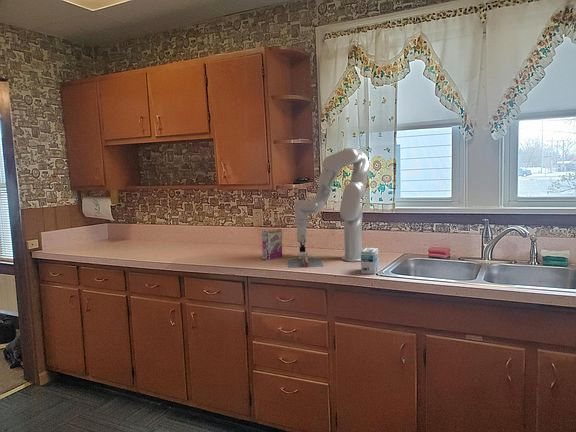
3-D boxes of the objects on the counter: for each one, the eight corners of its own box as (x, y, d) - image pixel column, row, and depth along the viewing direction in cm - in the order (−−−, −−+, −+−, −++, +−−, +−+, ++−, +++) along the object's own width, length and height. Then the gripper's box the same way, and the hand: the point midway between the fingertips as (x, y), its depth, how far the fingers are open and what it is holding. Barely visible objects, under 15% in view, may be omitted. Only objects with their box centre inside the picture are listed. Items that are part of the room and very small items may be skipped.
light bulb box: (375, 274, 211) (374, 251, 210) (360, 273, 214) (360, 251, 213) (379, 269, 221) (379, 247, 220) (365, 268, 224) (365, 247, 223)
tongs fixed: (301, 259, 248) (301, 255, 247) (306, 259, 248) (306, 255, 248) (303, 267, 229) (303, 263, 228) (308, 267, 229) (308, 263, 228)
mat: (319, 258, 252) (319, 257, 252) (323, 267, 229) (323, 266, 229) (287, 259, 251) (287, 258, 251) (288, 269, 228) (288, 267, 228)
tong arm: (301, 260, 244) (301, 257, 244) (303, 260, 244) (303, 256, 244) (303, 267, 229) (302, 263, 228) (305, 267, 229) (305, 262, 228)
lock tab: (298, 257, 252) (298, 252, 252) (307, 257, 253) (307, 251, 252) (299, 259, 247) (299, 253, 247) (308, 259, 248) (307, 253, 247)
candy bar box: (268, 260, 250) (266, 231, 249) (262, 259, 254) (261, 230, 252) (283, 257, 258) (282, 229, 256) (277, 256, 262) (276, 228, 260)
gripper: (294, 220, 262) (295, 252, 264) (295, 223, 247) (296, 257, 249) (307, 220, 262) (308, 251, 264) (309, 223, 247) (310, 256, 249)
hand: (302, 254), depth 257 cm, fingers closed
